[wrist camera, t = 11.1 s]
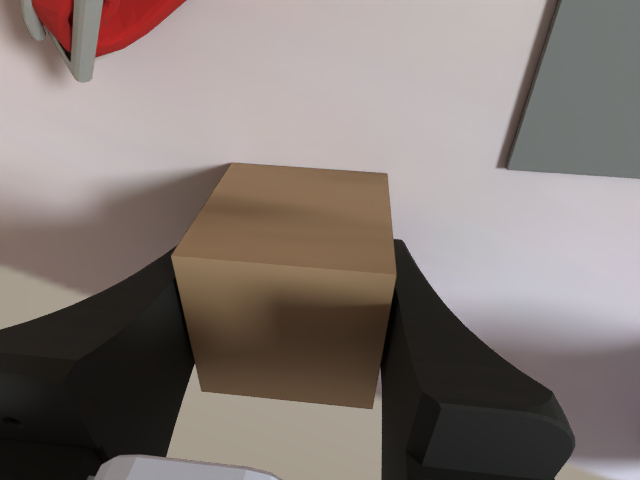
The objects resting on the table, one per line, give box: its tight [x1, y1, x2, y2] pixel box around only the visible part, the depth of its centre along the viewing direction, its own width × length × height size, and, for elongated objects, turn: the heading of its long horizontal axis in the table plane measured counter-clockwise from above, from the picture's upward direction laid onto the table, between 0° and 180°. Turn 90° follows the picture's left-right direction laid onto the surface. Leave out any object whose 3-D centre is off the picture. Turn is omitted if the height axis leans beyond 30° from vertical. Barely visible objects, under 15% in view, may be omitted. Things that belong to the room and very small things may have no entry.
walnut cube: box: [171, 163, 397, 409], centre depth 12 cm, size 5×5×5 cm
